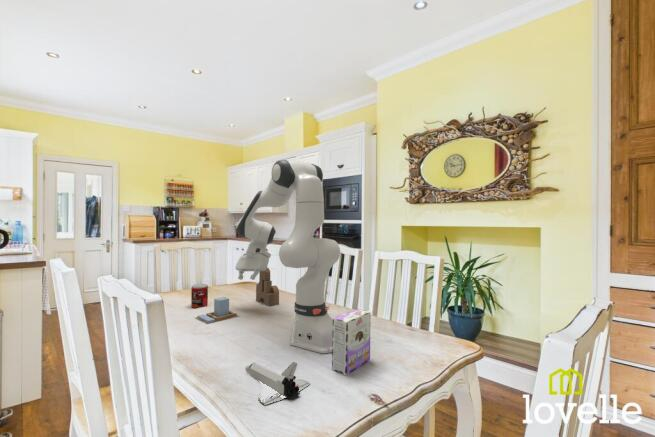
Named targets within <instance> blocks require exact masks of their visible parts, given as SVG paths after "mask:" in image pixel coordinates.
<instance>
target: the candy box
mask: <svg viewBox="0 0 655 437" xmlns="http://www.w3.org/2000/svg"><path fill="white" fill-rule="evenodd" d="M332 319H333V336H332V337H333V338H332V352H331V370H333V371H334V372H337V373H339V372H340V373H339V374H341V373H342V375H344V374H345V375H344V376H347V375H349V374H351V373H352V372H353V370H354V371H355V370H356V369H358V368H360V367H361V366H363V365H364V364H366V363H368V362H369V361H371V311H369V310H363V309H359V308H355V309H354V310H351V311H348V312H345V313H343V314H341V315H339V316H335V317H332ZM348 373H349V374H348ZM346 374H347V375H346Z"/></svg>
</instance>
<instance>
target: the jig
mask: <svg viewBox="0 0 655 437" xmlns="http://www.w3.org/2000/svg"><path fill="white" fill-rule="evenodd" d="M205 315H206V316H208V317H211V318H213V319H215V322H211V323H207V322H205V321H203V320H201V319H199V318H197V317H194V319H195V320H196V321H197V320H198V322H202V323H203V324H205V325H211V324H214V323H219V322H223V321H227V320H231V319H234V318H239V317H240V316H241V315H238V313H236V312H235V311H231V310H229V315H225V316H221V317H216V316H214V311H212V312H208V313H205Z"/></svg>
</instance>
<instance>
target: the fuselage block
mask: <svg viewBox="0 0 655 437" xmlns="http://www.w3.org/2000/svg"><path fill="white" fill-rule="evenodd" d="M213 306H214V307H213V312H214V316H216V317H221V316H225V315H229V311H230V298H228V297H226V296H222V297H216V298H214V299H213Z"/></svg>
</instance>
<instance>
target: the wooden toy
mask: <svg viewBox="0 0 655 437" xmlns="http://www.w3.org/2000/svg"><path fill="white" fill-rule="evenodd" d="M258 274H259V276H258V278H259V279H258V283H257V284H256V286H255V289H256V290H255V302H258V303H265V306H268V307H274V306H277V305H279V304H280V289H279V287H278V286H277V285H273V281H272V280H271V270H270V268H269V267H267V268H266V270H265V271H259V273H258Z"/></svg>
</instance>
